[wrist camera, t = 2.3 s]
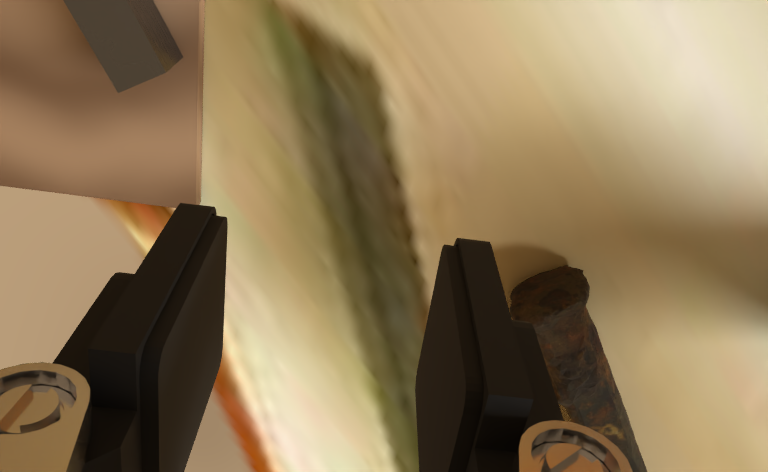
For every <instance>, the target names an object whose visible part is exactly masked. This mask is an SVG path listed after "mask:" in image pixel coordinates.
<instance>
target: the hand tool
mask: <svg viewBox="0 0 768 472" xmlns="http://www.w3.org/2000/svg"><path fill="white" fill-rule="evenodd" d="M510 297H511V301H512V303H511V307H510V315H511V317H512V318H513V320H518V321H526V322H530V323H532V325H533V327H534V329H535V332H536V335H537V338H538V341H539V345H540V348H541V351H542V354H543V357H544V360H545V363H546V367H547V370H548V373H549V376H550V379H551V382H552V385H553V389H554V392H555V395H556V398H557V401H558V404H560V405H563V406H564V407H565V409H566V410H567V412H568V414H569V416H570V418H571V420H572V422H573V423H576V424H579V425H582V426H586V427H588V428H590V429H592V430H594V431H596V432H598V433H600V434H601V435H603V436H605V437H606V438H607V439H608V440H610V441H611V442H612V443H613V444H615V445H616V446H617V447H618V448H619V449H620V451H621V452H622V453H623V454H624V456H625V457H626V458H627V459H628V462H629V464H630V466H631V469H632V471H633V472H647V470H646V467H645V464H644V461H643V459H642V456H641V454H640V451H639V448H638V445H637V443H636V440H635V437H634V433H633V431H632V428H631V425H630V422H629V418H628V415H627V412H626V410H625V407H624V405H623V402H622V399H621V396H620V393H619V391H618V389H617V386H616V384H615V381H614V378H613V375H612V372H611V369H610V366H609V363H608V360H607V358H606V356H605V354H604V351H603V348H602V345H601V342H600V339H599V336H598V333H597V329H596V327H595V325H594V323H593V321H592V319H591V317H590V315H589V313H588V311H587V308H586V303H587V300H588V297H589V284H588V282H587V279H586V278H585V276H584V275H583V270H580V269H577V268H571V267H568V266H563V267H560V268H557V269H555V270H552V271H548V272H544V273H540V274H538V275H536V276H533V277H531V278H529V279H527V280H526V281H524V282H522V283H521V284H519V285H518V286H517V287H516V288H515V289H514V290H513V291H512V293H511V296H510Z"/></svg>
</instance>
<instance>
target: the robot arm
mask: <svg viewBox="0 0 768 472" xmlns="http://www.w3.org/2000/svg"><path fill="white" fill-rule="evenodd" d="M226 250H227V218H226V217H221V216H216V209H215V207H210V206H202V205H194V204H187V203H180V204H179V205H178V207H177V208H176V210H175V211H174V213H173V214H172V216H171V218H170V219H169V221H168V222H167V224H166V226H165V227H164V229H163V230H162V232H161V233H160V235H159V237H158V238H157V240H156V241H155V243H154V245H153V246H152V248H151V249H150V251H149V253H148V254H147V256H146V257H145V259H144V260H143V262H142V264H141V265H140V267H139V268H138V270H137V272H136V273H135V274H129V273H120V272H119V273H115V274H114V275H113V276H112V277H111V278H110V280H109V281H108V283H107V284H106V286H105V288H104V289H103V290H102V292H101V293H100V295H99V296H98V298H97V299H96V300H95V302H94V303H93V305H92V306H91V308H90V309H89V311H88V312H87V314H86V315H85V317H84V318H83V319H82V321H81V322H80V324H79V325H78V327H77V328H76V330H75V331H74V333H73V334H72V336H71V337H70V339H69V340H68V341H67V343H66V344H65V346H64V347H63V349H62V350H61V352H60V353H59V355H58V356H57V358H56V359H55V360H54V362H53V363H44V362H41V363H26V364H20V365H16V366H12V367H8V368H4V369H1V370H0V472H184V470H185V467H186V464H187V461H188V458H189V455H190V452H191V450H192V446H193V444H194V441H195V438H196V435H197V432H198V429H199V426H200V423H201V420H202V417H203V414H204V411H205V408H206V405H207V403H208V400H209V397H210V394H211V391H212V388H213V385H214V382H215V379H216V376H217V373H218V370H219V367H220V363H221V357H222V349H223V325H224V300H225V275H226ZM415 393H416V413H417V432H418V452H419V471H420V472H633V471H632V469H631V466H630V464H629V462H628V459H627V458H626V457H625V456H624V454H623V453H622V452H621V451H620V449H619V448H618V447H617V446H616V445H615V444H613V443H612V442H611V441H610V440H608V439H607V438H606V437H605V436H603V435H601V434H600V433H598V432H596V431H594V430H592V429H590V428H588V427H586V426H582V425H579V424H576V423H573V422H568V421H564V420H563V417H562V414H561V411H560V407H559V404H558V401H557V398H556V395H555V392H554V389H553V385H552V382H551V379H550V376H549V373H548V370H547V367H546V363H545V360H544V357H543V354H542V351H541V348H540V345H539V341H538V338H537V335H536V332H535V329H534V327H533V325H532V323H530V322H526V321H518V320H512V319H511V316H510V312H509V308H508V305H507V301H506V298H505V294H504V290H503V287H502V283H501V279H500V276H499V272H498V268H497V265H496V261H495V257H494V254H493V250H492V246H491V244H490V242H485V241H477V240H469V239H461V238H457V239H456V241H455V244H454V246H450V245H444V246H443V248H442V252H441V256H440V261H439V266H438V271H437V276H436V281H435V286H434V291H433V296H432V300H431V305H430V310H429V315H428V320H427V325H426V330H425V335H424V340H423V345H422V350H421V355H420V359H419V364H418V369H417V376H416V388H415Z"/></svg>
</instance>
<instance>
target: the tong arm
mask: <svg viewBox="0 0 768 472" xmlns="http://www.w3.org/2000/svg"><path fill="white" fill-rule="evenodd" d="M63 1H64V3H65V4H66V6H67V8H68V9H69V11H70V13H71V14H72V16H73V18H74V19H75V21H76V23H77V25H78V26H79V28H80V30H81V31H82V33H83V35H84V36H85V38H86V40H87V41H88V43H89V45H90V47H91V48H92V50H93V52H94V53H95V55H96V57H97V58H98V60H99V62H100V63H101V65H102V67H103V69H104V70H105V72H106V74H107V75H108V77H109V79H110V80H111V82H112V84H113V85H114V87H115V89H116V90H117V92H118V93H120V92H122V91H124V90H127V89H129V88H132V87H134V86H136V85H139V84H141V83H143V82H146V81H148V80H150V79H153V78H155V77H157V76H160V75H162V74H164V73H166V72H168V71H169V70H170V69H171V68H172V67H173V66H174V65H175V64H176V63H178V62H179V61H180V60H181V59H182V58H183V55H182V53H181V51H180V49H179V48H178V46H177V44H176V42H175V40H174V38H173V36H172V35H171V33H170V31H169V29H168V27H167V25H166V23H165V21H164V20H163V18H162V16H161V14H160V12H159V10H158V8H157V6H156V5H155V3H154V1H153V0H63Z"/></svg>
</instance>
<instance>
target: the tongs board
mask: <svg viewBox="0 0 768 472" xmlns="http://www.w3.org/2000/svg"><path fill="white" fill-rule="evenodd" d="M153 1H154V3H155V5H156V6H157V8H158V10H159V12H160V14H161V16H162V18H163V20H164V21H165V23H166V25H167V27H168V29H169V31H170V33H171V35H172V36H173V38H174V40H175V42H176V44H177V46H178V48H179V49H180V51H181V53H182V55H183V58H182V59H181V60H180V61H179V62H178V63H176V64H175V65H174V66H173V67H172V68H171V69H170V70H169V71H168V72H166V73H164V74H162V75H160V76H157V77H155V78H153V79H150V80H148V81H146V82H143V83H141V84H139V85H136V86H134V87H132V88H129V89H127V90H124V91H122V92H120V93H118V92H117V90H116V89H115V87H114V85H113V84H112V82H111V80H110V79H109V77H108V75H107V74H106V72H105V70H104V69H103V67H102V65H101V63H100V62H99V60H98V58H97V57H96V55H95V53H94V52H93V50H92V48H91V47H90V45H89V43H88V41H87V40H86V38H85V36H84V35H83V33H82V31H81V30H80V28H79V26H78V25H77V23H76V21H75V19H74V18H73V16H72V14H71V13H70V11H69V9H68V8H67V6H66V4H65V3H64V1H63V0H0V186H8V187H16V188H23V189H32V190H40V191H47V192H55V193H63V194H71V195H78V196H86V197H94V198H102V199H110V200H118V201H126V202H134V203H141V204H149V205H157V206H165V207H173V208H177V207H178V205H179V204H180V203H187V204H194V205H199V204H200V202H201V163H202V112H203V61H204V10H205V0H153Z"/></svg>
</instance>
